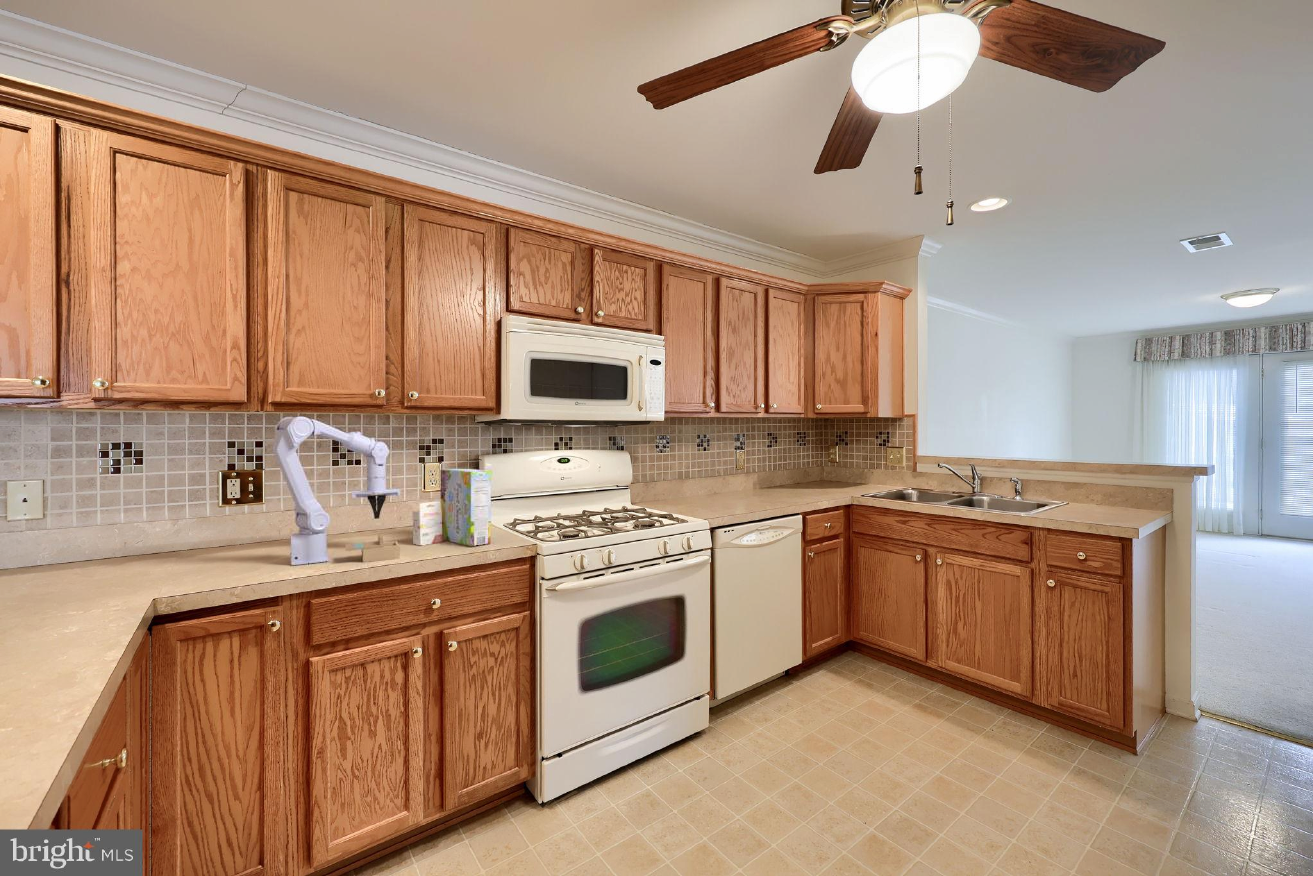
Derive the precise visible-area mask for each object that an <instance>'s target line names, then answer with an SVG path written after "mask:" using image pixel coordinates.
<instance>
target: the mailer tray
mask: <svg viewBox="0 0 1313 876" xmlns="http://www.w3.org/2000/svg"><path fill="white" fill-rule="evenodd" d="M400 554H401V553H400V544H399V543H398V541H397V540H395V541H394V540H393V541H384V542H383V547H379V548H369V549H361V559H362V563H370V562H369V561H372V562H379V561H381V560H382V561H389V560H391V561H392V560H397V559H396V558H400ZM400 559H401V558H400ZM382 561H381V562H382Z"/></svg>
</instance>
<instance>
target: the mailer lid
mask: <svg viewBox="0 0 1313 876" xmlns="http://www.w3.org/2000/svg"><path fill="white" fill-rule="evenodd" d="M383 539H384V538H383V536H382V534H378V536H377V541H366V542H365V541H364V542H355V543H346V544H344V549H345V551H347V552H349V551H356V550H357V551H359V550H362V549H369V548H379V547H383V541H384V540H383Z"/></svg>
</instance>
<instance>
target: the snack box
mask: <svg viewBox="0 0 1313 876" xmlns="http://www.w3.org/2000/svg"><path fill="white" fill-rule="evenodd" d="M439 472H440V501H441V510H442V541H447V542H451V543H454V542H455V544H460V545H463V546H468V547H477V546H476V545H479V546H482V545H483V544H485V545H490V544H491V541H492V540H491V539H492V535H491V534H492V531H491V527H492V523H491V521H492V520H491V518H492V517H491V515H492V514H491V513H492V510H491V508H492V504H491V503H492V501H491V500H492V499H491V498H492V493H491V492H492V491H491V490H492V471H491V470H486V469H485V470H484V469H475V468H442V469H440V471H439ZM483 546H484V545H483Z"/></svg>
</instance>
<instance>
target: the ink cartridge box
mask: <svg viewBox="0 0 1313 876" xmlns="http://www.w3.org/2000/svg"><path fill="white" fill-rule="evenodd" d="M430 505H431V506H430ZM429 506H430V507H429ZM412 538H413V539H412V540H413V541H412V542H413V543H412V544H413V545H414V544H416V545H415V546H419V545H423V546H427V545H426V544H429V545H432V544H433V543H434V544H438V543H437V542H439V543H443V540H442V510H441V500H438V501H437V500H436V501H429V502H428V501H427V502H421V503H419V510H412ZM434 544H433V545H434Z"/></svg>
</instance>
